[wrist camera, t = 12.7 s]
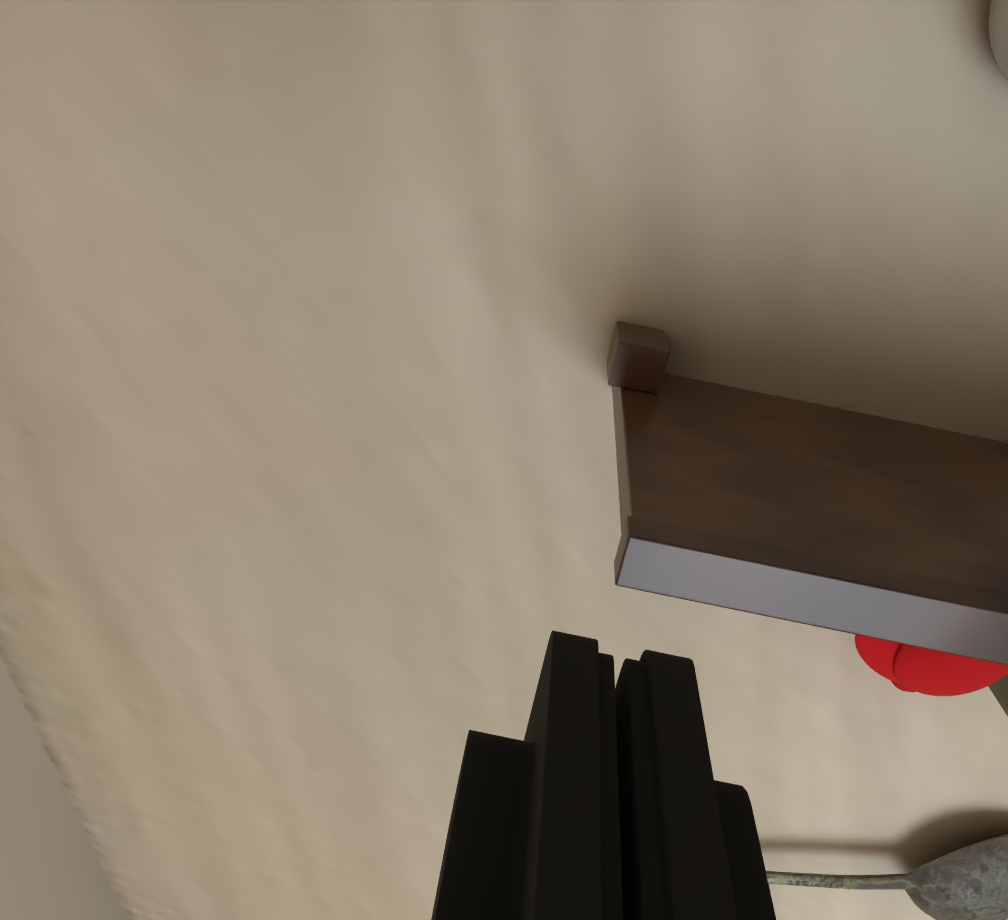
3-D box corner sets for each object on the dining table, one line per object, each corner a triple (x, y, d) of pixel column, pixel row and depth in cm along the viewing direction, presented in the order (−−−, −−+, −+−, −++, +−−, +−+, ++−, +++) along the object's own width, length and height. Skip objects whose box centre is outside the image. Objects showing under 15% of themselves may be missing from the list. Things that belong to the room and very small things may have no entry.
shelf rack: (553, 580, 41) (534, 837, 27) (616, 320, 36) (631, 480, 22) (1019, 675, 41) (1236, 983, 27) (1155, 429, 35) (1512, 659, 22)
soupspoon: (1031, 897, 48) (1055, 804, 45) (1064, 951, 44) (1092, 856, 42) (631, 887, 49) (634, 797, 47) (636, 940, 46) (639, 846, 43)
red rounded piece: (1016, 517, 38) (1088, 593, 32) (1006, 629, 40) (1071, 718, 35) (826, 534, 39) (865, 610, 33) (828, 642, 41) (864, 730, 36)
